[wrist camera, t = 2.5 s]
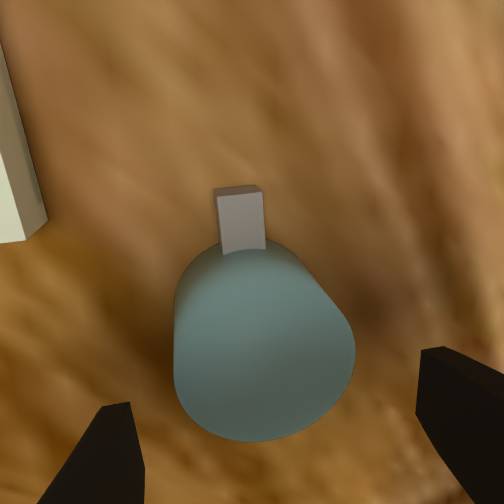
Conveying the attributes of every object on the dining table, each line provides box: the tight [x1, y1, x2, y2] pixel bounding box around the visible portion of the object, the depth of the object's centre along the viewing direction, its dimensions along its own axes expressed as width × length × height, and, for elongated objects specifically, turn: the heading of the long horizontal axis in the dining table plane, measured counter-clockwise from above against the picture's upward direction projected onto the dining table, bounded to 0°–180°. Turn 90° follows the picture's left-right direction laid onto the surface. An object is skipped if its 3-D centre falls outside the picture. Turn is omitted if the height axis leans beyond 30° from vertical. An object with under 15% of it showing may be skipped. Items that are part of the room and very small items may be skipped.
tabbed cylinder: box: [173, 185, 356, 442], centre depth 13 cm, size 7×5×4 cm
